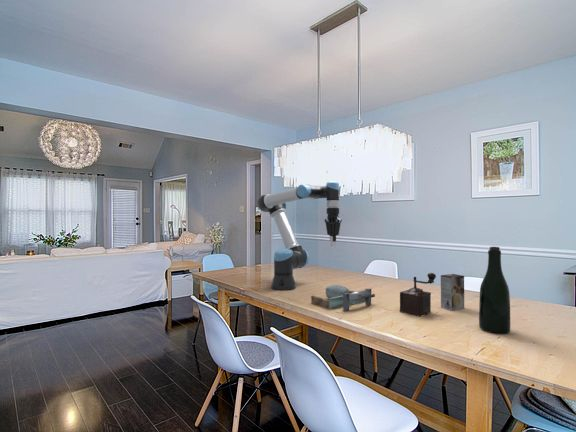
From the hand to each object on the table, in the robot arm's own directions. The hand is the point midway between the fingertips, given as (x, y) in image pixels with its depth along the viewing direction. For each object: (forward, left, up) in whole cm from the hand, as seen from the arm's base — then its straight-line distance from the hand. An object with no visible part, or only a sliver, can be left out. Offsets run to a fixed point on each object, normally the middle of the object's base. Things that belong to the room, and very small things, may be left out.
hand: (333, 246), depth 193 cm
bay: (+20, -15, -26) cm, 36 cm away
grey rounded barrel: (+18, -14, -27) cm, 35 cm away
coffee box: (+60, +22, -27) cm, 70 cm away
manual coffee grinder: (+53, +4, -27) cm, 60 cm away
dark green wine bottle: (+85, +5, -27) cm, 90 cm away
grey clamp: (+32, -13, -26) cm, 44 cm away
